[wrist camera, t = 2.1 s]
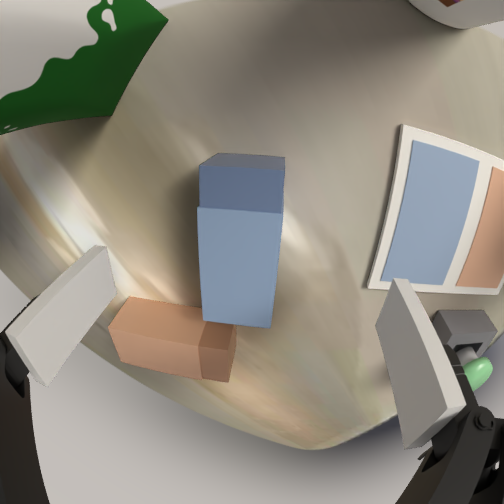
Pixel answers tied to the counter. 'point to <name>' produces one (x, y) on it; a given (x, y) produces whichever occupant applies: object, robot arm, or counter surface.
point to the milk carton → (69, 57)
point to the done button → (474, 367)
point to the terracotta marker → (173, 339)
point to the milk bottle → (462, 11)
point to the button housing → (464, 329)
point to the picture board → (442, 218)
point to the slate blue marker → (240, 236)
